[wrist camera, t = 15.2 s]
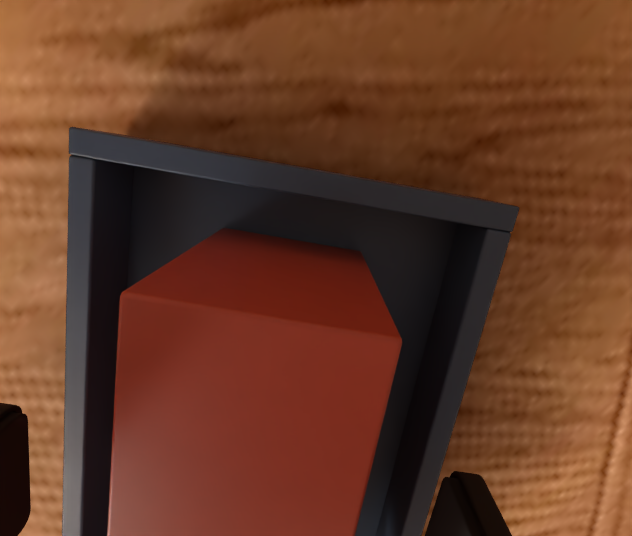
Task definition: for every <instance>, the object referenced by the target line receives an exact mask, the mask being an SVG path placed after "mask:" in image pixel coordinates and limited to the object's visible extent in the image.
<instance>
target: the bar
mask: <svg viewBox="0 0 632 536" xmlns="http://www.w3.org/2000/svg"><path fill="white" fill-rule="evenodd" d="M401 346H402V338H401V336H400V334H399V332H398V330H397V328H396V326H395V323H394V321H393V319H392V317H391V315H390V313H389V311H388V308H387V306H386V304H385V302H384V300H383V298H382V296H381V293H380V291H379V289H378V287H377V285H376V283H375V281H374V278H373V276H372V274H371V272H370V270H369V268H368V266H367V263H366V261H365V259H364V257H363V255H362V253H361V252H360V251H356V250H350V249H345V248H339V247H333V246H327V245H322V244H316V243H310V242H304V241H298V240H293V239H287V238H281V237H275V236H269V235H264V234H258V233H252V232H246V231H240V230H235V229H229V228H222V229H221V230H219V231H217V232H216V233H214V234H213V235H211V236H210V237H208V238H206V239H205V240H203V241H202V242H200V243H199V244H197V245H195V246H194V247H192V248H191V249H189V250H188V251H186V252H184V253H183V254H181V255H180V256H178V257H177V258H175V259H173V260H172V261H170V262H169V263H167V264H166V265H164V266H162V267H161V268H159V269H158V270H156V271H155V272H153V273H151V274H150V275H148V276H147V277H145V278H143V279H142V280H140V281H139V282H137V283H136V284H134V285H132V286H131V287H129V288H128V289H126V290H125V291H123V292H122V293H121V295H120V304H119V323H118V341H117V360H116V379H115V398H114V416H113V435H112V454H111V473H110V491H109V510H108V529H107V536H355V533H356V529H357V524H358V520H359V516H360V512H361V508H362V504H363V500H364V496H365V492H366V488H367V484H368V480H369V476H370V472H371V468H372V464H373V459H374V455H375V451H376V447H377V443H378V439H379V435H380V431H381V427H382V423H383V419H384V415H385V411H386V407H387V403H388V398H389V394H390V390H391V386H392V382H393V378H394V374H395V370H396V366H397V362H398V358H399V354H400V350H401Z"/></svg>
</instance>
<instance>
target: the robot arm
mask: <svg viewBox="0 0 632 536" xmlns="http://www.w3.org/2000/svg"><path fill="white" fill-rule="evenodd" d="M30 509H31V506H30V475H29V444H28V419H27V416H26V414H22V410H21V408H20V407H19V406H17V405H11V404H4V403H0V536H18V534H19V533H20V532H21V531H22V529H23V528H24V526H25V524H26V522H27V520H28V518H29V515H30ZM425 536H512V535H511V533H510V531H509V529H508V527H507V525H506V523H505V521H504V519H503V517H502V515H501V513H500V511H499V509H498V507H497V505H496V503H495V501H494V499H493V497H492V495H491V493H490V491H489V489H488V487H487V485H486V483H485V481H484V479H483V478H482V477H481V476H480V475H478V474H471V473H465V472H458V471H454V472H453V473H452V474H451V476H450V477H445V478H444V479H443V481H442V484H441V487H440V490H439V493H438V496H437V499H436V503H435V506H434V509H433V512H432V515H431V518H430V521H429V524H428V528H427V531H426V534H425Z"/></svg>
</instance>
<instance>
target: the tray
mask: <svg viewBox="0 0 632 536" xmlns="http://www.w3.org/2000/svg"><path fill="white" fill-rule="evenodd" d="M69 154H71V156H70V157H69V197H68V251H67V305H66V358H65V412H64V466H63V520H62V536H107V529H108V510H109V491H110V473H111V454H112V435H113V416H114V398H115V379H116V360H117V341H118V323H119V304H120V295H121V293H122V292H123V291H125V290H126V289H128V288H129V287H131V286H132V285H134V284H136V283H137V282H139V281H140V280H142V279H143V278H145V277H147V276H148V275H150V274H151V273H153V272H155V271H156V270H158V269H159V268H161V267H162V266H164V265H166V264H167V263H169V262H170V261H172V260H173V259H175V258H177V257H178V256H180V255H181V254H183V253H184V252H186V251H188V250H189V249H191V248H192V247H194V246H195V245H197V244H199V243H200V242H202V241H203V240H205V239H206V238H208V237H210V236H211V235H213V234H214V233H216V232H217V231H219V230H221V229H222V228H229V229H235V230H240V231H246V232H252V233H258V234H264V235H269V236H275V237H281V238H287V239H293V240H298V241H304V242H310V243H316V244H322V245H327V246H333V247H339V248H345V249H350V250H356V251H360V252H361V253H362V255H363V257H364V259H365V261H366V263H367V266H368V268H369V270H370V272H371V274H372V276H373V278H374V281H375V283H376V285H377V287H378V289H379V291H380V293H381V296H382V298H383V300H384V302H385V304H386V306H387V308H388V311H389V313H390V315H391V317H392V319H393V321H394V323H395V326H396V328H397V330H398V332H399V334H400V336H401V338H402V346H401V350H400V354H399V358H398V362H397V366H396V370H395V374H394V378H393V382H392V386H391V390H390V394H389V398H388V403H387V407H386V411H385V415H384V419H383V423H382V427H381V431H380V435H379V439H378V443H377V447H376V451H375V455H374V459H373V464H372V468H371V472H370V476H369V480H368V484H367V488H366V492H365V496H364V500H363V504H362V508H361V512H360V516H359V520H358V524H357V529H356V533H355V536H421V535H422V532H423V528H424V525H425V522H426V518H427V515H428V512H429V508H430V505H431V502H432V498H433V495H434V492H435V488H436V485H437V482H438V478H439V475H440V471H441V468H442V465H443V461H444V458H445V455H446V451H447V448H448V445H449V441H450V438H451V435H452V431H453V428H454V425H455V421H456V418H457V414H458V411H459V408H460V404H461V401H462V398H463V394H464V391H465V388H466V384H467V381H468V378H469V374H470V371H471V367H472V364H473V361H474V357H475V354H476V351H477V347H478V344H479V341H480V337H481V334H482V331H483V327H484V324H485V321H486V317H487V314H488V310H489V307H490V304H491V300H492V297H493V294H494V290H495V287H496V284H497V280H498V277H499V274H500V270H501V267H502V264H503V260H504V257H505V253H506V250H507V247H508V243H509V240H510V237H511V233H510V232H512V231H513V228H514V225H515V221H516V218H517V215H518V211H519V207H518V206H513V205H509V204H504V203H499V202H494V201H489V200H484V199H479V198H474V197H468V196H463V195H457V194H452V193H446V192H440V191H435V190H429V189H423V188H418V187H412V186H407V185H401V184H395V183H390V182H384V181H379V180H373V179H367V178H362V177H356V176H351V175H345V174H339V173H334V172H328V171H323V170H317V169H311V168H306V167H300V166H295V165H289V164H283V163H278V162H272V161H267V160H261V159H255V158H250V157H244V156H239V155H233V154H227V153H222V152H216V151H211V150H205V149H199V148H194V147H188V146H183V145H177V144H171V143H166V142H160V141H155V140H149V139H143V138H138V137H132V136H127V135H121V134H114V133H108V132H102V131H95V130H89V129H82V128H76V127H70V128H69Z"/></svg>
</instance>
